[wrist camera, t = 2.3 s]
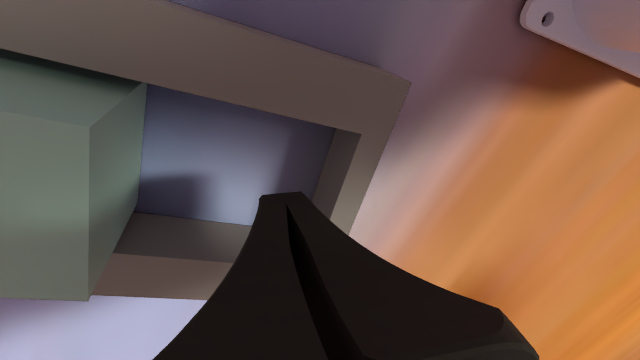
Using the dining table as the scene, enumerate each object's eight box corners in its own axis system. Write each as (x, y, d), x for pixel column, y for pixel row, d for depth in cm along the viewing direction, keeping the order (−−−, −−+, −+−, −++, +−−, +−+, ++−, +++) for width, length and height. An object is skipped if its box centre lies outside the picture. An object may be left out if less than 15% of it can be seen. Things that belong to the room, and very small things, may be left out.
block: (147, 77, 11) (89, 127, 7) (137, 202, 13) (87, 301, 9) (-45, 30, 9) (-283, 57, 5) (-22, 181, 11) (-178, 290, 7)
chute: (382, 69, 13) (411, 82, 10) (309, 265, 17) (319, 305, 14) (-202, -117, 8) (-376, -163, 5) (-102, 230, 12) (-180, 283, 9)
